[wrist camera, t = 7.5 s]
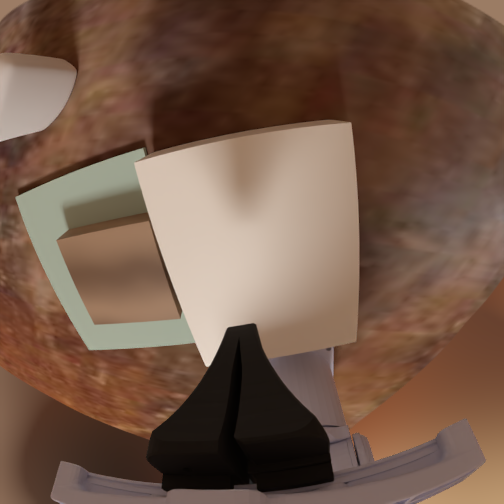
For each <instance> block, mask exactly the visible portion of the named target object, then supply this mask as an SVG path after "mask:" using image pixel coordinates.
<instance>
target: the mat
mask: <svg viewBox="0 0 504 504" xmlns="http://www.w3.org/2000/svg"><path fill="white" fill-rule="evenodd" d="M145 156H147V151H146V147H144V148H141V149H137V150H134V151H131V152H128V153H125V154H122V155H119V156H115V157H112V158H110V159H107V160H104V161H101V162H98V163H95V164H92V165H90V166H87V167H84V168H82V169H79V170H76V171H74V172H71V173H69V174H66V175H64V176H61V177H59V178H57V179H54V180H52V181H49V182H47V183H45V184H43V185H40V186H38V187H36V188H34V189H31V190H29V191H27V192H25V193H23V194H21V195H19V196H17V197H15V198H16V201H17V204H18V206H19V209H20V212H21V215H22V218H23V220H24V223H25V226H26V228H27V231H28V233H29V236H30V238H31V241H32V243H33V246H34V248H35V250H36V253H37V255H38V257H39V259H40V262H41V264H42V266H43V268H44V270H45V272H46V274H47V276H48V278H49V281H50V283H51V285H52V286H53V288H54V290H55V292H56V294H57V296H58V298H59V300H60V302H61V304H62V305H63V307H64V309H65V311H66V313H67V314H68V316H69V318H70V320H71V321H72V323H73V325H74V326H75V328H76V330H77V331H78V333H79V334H80V336H81V338H82V339H83V341H84V342H85V344H86V346H87V347H88V349H89V350H106V349H126V348H142V347H155V346H167V345H178V344H188V343H196V342H195V340H194V338H193V335H192V333H191V330H190V328H189V325H188V323H187V320H186V318H185V315H184V313H183V310H182V314H181V318H180V319H173V320H161V321H149V322H135V323H119V324H101V325H94V323H93V321H92V319H91V317H90V315H89V313H88V311H87V309H86V307H85V305H84V303H83V301H82V299H81V297H80V295H79V293H78V291H77V289H76V286H75V284H74V282H73V280H72V278H71V275H70V273H69V271H68V268H67V266H66V264H65V261H64V259H63V256H62V254H61V251H60V249H59V246H58V244H57V241H56V240H57V239H58V238H59V237H61V236H62V235H63V234H64V233H65V232H66V231H67V230H69V229H73V228H77V227H81V226H86V225H90V224H94V223H99V222H103V221H108V220H113V219H117V218H122V217H127V216H132V215H136V214H141V213H146V212H148V210H147V207H146V204H145V200H144V197H143V194H142V190H141V187H140V183H139V180H138V176H137V173H136V169H135V165H134V162H136V161H138V160H140V159H142V158H144V157H145Z"/></svg>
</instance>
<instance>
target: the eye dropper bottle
mask: <svg viewBox="0 0 504 504" xmlns="http://www.w3.org/2000/svg"><path fill="white" fill-rule="evenodd" d="M76 76H77V70H76V69H75V67H74V66H73V65H71V64H70V63H69V62H67V61H66V60H64V59H59V58H53V57H46V56H38V55H29V54H19V53H1V54H0V141H4V140H7V139H11V138H15V137H18V136H22V135H26V134H30V133H34V132H38V131H41V130H44V129H45V128H47V127H48V126H49V125H50V124H51V123H52V122H53V121H54V120H55V119H56V117H57V116H58V115H59V113H60V112H61V111H62V109H63V108H64V106H65V104H66V102H67V101H68V99H69V96H70V94H71V92H72V89H73V86H74V83H75V80H76Z"/></svg>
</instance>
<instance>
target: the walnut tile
mask: <svg viewBox="0 0 504 504" xmlns="http://www.w3.org/2000/svg"><path fill="white" fill-rule="evenodd" d="M56 241H57V244H58V246H59V249H60V251H61V254H62V256H63V259H64V261H65V264H66V266H67V268H68V271H69V273H70V275H71V278H72V280H73V282H74V284H75V286H76V289H77V291H78V293H79V295H80V297H81V299H82V301H83V303H84V305H85V307H86V309H87V311H88V313H89V315H90V317H91V319H92V321H93V323H94V325H101V324H119V323H135V322H149V321H161V320H173V319H180V318H181V314H182V308H181V305H180V303H179V300H178V298H177V295H176V292H175V290H174V287H173V284H172V282H171V279H170V276H169V273H168V270H167V268H166V265H165V262H164V259H163V256H162V253H161V250H160V248H159V245H158V242H157V239H156V236H155V232H154V229H153V226H152V223H151V220H150V217H149V214H148V212H146V213H141V214H136V215H132V216H127V217H122V218H117V219H113V220H108V221H103V222H99V223H94V224H90V225H86V226H81V227H77V228H73V229H69V230H67V231H66V232H65V233H64V234H63V235H62V236H61V237H59V238H58V239H57V240H56Z"/></svg>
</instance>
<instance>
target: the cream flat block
mask: <svg viewBox="0 0 504 504" xmlns="http://www.w3.org/2000/svg"><path fill="white" fill-rule="evenodd" d="M134 165H135V169H136V173H137V176H138V180H139V183H140V187H141V190H142V194H143V197H144V200H145V204H146V207H147V210H148V214H149V217H150V220H151V223H152V226H153V229H154V232H155V236H156V239H157V242H158V245H159V248H160V250H161V253H162V256H163V259H164V262H165V265H166V268H167V270H168V273H169V276H170V279H171V282H172V284H173V287H174V290H175V292H176V295H177V298H178V300H179V303H180V305H181V308H182V310H183V313H184V315H185V318H186V320H187V323H188V325H189V328H190V330H191V333H192V335H193V338H194V340H195V342H196V345H197V347H198V349H199V352H200V354H201V356H202V359H203V361H204V363H205V365H206V366H210V365H211V363H212V361H213V359H214V357H215V355H216V353H217V351H218V349H219V346H220V344H221V342H222V339H223V337H224V334H225V332H226V329H227V328H228V327H233V326H239V325H245V324H251V323H254V324H256V325H257V329H258V333H259V337H260V340H261V344H262V348H263V350H264V352H265V354H266V356H267V358H268V359H270V358H276V357H282V356H288V355H294V354H299V353H305V352H310V351H315V350H320V349H325V348H330V347H334V346H339V345H343V344H348V343H352V342H356V337H357V322H358V302H359V213H358V192H357V177H356V164H355V153H354V143H353V134H352V125H351V122H345V121H338V120H331V119H330V120H320V121H311V122H302V123H294V124H287V125H280V126H273V127H266V128H260V129H254V130H249V131H243V132H238V133H232V134H227V135H222V136H218V137H213V138H208V139H204V140H199V141H195V142H191V143H187V144H183V145H179V146H175V147H171V148H167V149H163V150H160V151H156V152H153V153H151V154H149V155H147V156H145V157H144V158H142V159H140V160H138V161H136V162H134Z"/></svg>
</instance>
